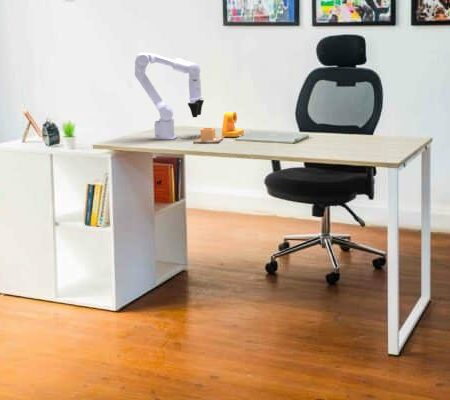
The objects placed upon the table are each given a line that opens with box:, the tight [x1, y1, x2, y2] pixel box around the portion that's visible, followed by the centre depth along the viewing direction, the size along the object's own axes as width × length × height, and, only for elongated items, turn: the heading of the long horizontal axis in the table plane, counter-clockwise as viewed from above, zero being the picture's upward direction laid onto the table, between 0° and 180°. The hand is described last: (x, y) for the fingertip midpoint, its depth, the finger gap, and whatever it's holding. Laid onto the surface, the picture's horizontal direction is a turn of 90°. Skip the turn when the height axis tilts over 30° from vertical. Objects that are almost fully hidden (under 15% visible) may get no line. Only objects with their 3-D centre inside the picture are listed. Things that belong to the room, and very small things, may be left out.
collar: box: [200, 127, 216, 140], centre depth 449 cm, size 6×6×5 cm
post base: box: [193, 136, 224, 145], centre depth 449 cm, size 12×12×1 cm
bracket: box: [221, 111, 245, 138], centre depth 462 cm, size 11×7×12 cm, turn 154°
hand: (196, 116), depth 462 cm, fingers open, 7 cm apart
